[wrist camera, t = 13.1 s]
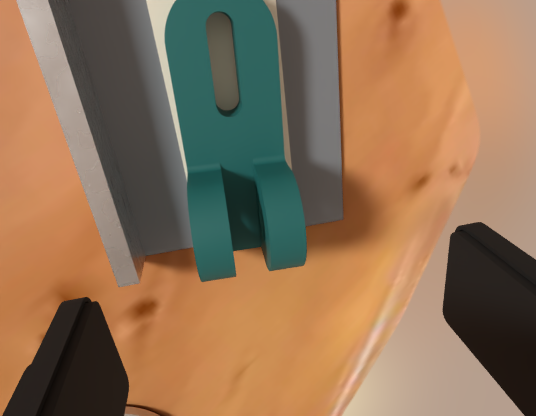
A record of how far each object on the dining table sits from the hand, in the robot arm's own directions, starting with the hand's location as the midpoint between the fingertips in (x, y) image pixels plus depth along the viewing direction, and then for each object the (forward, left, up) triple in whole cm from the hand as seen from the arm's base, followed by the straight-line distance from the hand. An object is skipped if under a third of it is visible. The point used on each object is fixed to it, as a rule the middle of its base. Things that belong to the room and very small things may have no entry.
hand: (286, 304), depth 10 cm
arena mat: (+2, +1, -20) cm, 20 cm away
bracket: (0, 0, -20) cm, 20 cm away
